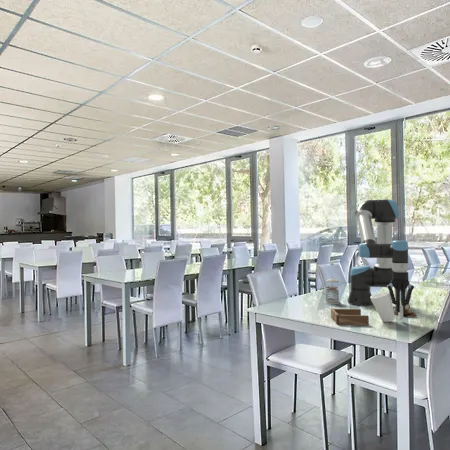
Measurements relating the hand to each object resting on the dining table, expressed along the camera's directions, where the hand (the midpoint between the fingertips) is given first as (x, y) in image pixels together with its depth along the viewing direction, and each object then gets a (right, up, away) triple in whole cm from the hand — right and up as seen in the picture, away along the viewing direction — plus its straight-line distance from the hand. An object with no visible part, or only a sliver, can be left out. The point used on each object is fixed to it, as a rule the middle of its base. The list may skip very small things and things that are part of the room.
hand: (400, 318), depth 195 cm
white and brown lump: (+10, -2, +17) cm, 20 cm away
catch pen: (-25, -2, +2) cm, 25 cm away
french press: (-21, -3, +52) cm, 56 cm away
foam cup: (-6, -1, +1) cm, 6 cm away
